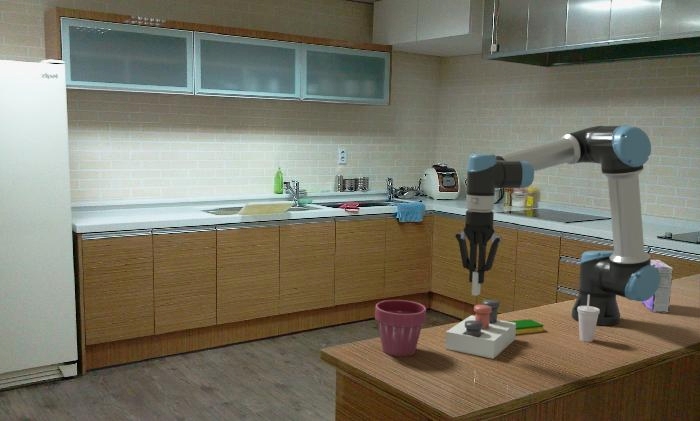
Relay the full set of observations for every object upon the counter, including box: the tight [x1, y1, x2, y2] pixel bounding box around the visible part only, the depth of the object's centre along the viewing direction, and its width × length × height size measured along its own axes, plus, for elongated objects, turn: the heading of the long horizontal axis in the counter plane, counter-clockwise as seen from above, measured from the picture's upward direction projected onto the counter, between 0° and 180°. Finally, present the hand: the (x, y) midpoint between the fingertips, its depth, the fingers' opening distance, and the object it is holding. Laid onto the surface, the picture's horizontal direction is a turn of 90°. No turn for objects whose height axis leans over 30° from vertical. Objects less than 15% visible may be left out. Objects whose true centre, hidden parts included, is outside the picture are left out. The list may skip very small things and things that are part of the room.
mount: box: [444, 314, 517, 360], centre depth 187 cm, size 14×20×5 cm
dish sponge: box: [507, 318, 545, 335], centre depth 202 cm, size 7×14×2 cm, turn 111°
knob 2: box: [481, 299, 501, 323], centre depth 192 cm, size 5×5×6 cm
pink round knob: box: [473, 304, 492, 329], centre depth 186 cm, size 5×5×6 cm
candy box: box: [640, 259, 674, 313], centre depth 231 cm, size 14×6×16 cm, turn 172°
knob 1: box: [465, 320, 483, 337], centre depth 181 cm, size 5×5×6 cm
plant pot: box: [374, 299, 427, 357], centre depth 179 cm, size 14×14×13 cm
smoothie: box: [577, 294, 600, 343], centre depth 192 cm, size 6×6×14 cm
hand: (475, 294), depth 180 cm, fingers closed
